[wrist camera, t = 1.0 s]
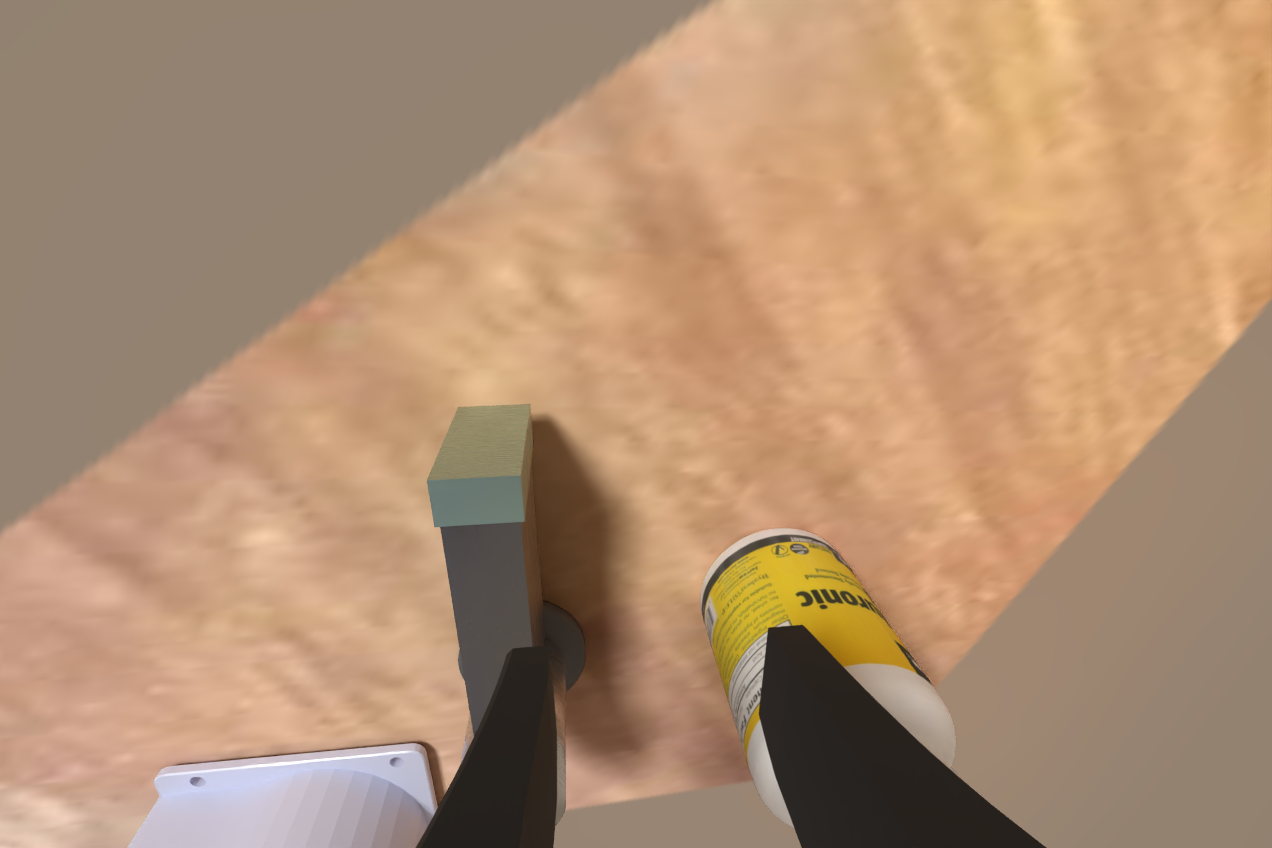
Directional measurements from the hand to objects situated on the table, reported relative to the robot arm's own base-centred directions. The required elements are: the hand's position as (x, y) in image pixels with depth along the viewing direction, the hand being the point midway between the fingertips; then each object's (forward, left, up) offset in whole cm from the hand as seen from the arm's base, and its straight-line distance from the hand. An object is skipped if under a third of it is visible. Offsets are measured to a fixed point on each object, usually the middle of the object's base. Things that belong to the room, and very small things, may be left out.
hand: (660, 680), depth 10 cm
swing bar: (-3, -4, -8) cm, 10 cm away
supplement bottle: (+5, -6, -10) cm, 13 cm away
